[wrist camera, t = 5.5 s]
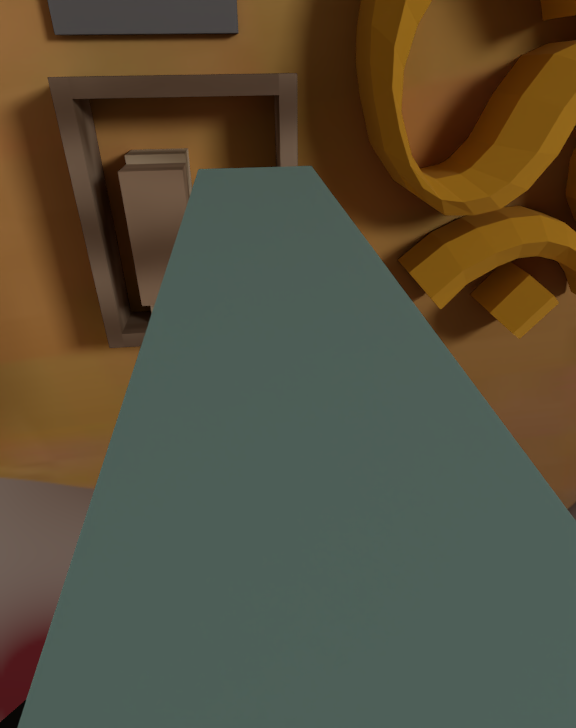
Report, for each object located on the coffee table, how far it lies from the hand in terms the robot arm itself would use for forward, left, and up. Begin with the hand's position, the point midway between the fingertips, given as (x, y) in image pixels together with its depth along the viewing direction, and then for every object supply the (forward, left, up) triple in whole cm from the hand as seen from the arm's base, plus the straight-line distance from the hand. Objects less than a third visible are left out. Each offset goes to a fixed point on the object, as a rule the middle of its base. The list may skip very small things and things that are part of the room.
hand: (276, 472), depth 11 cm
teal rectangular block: (0, 0, -6) cm, 6 cm away
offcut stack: (+2, -5, -26) cm, 27 cm away
